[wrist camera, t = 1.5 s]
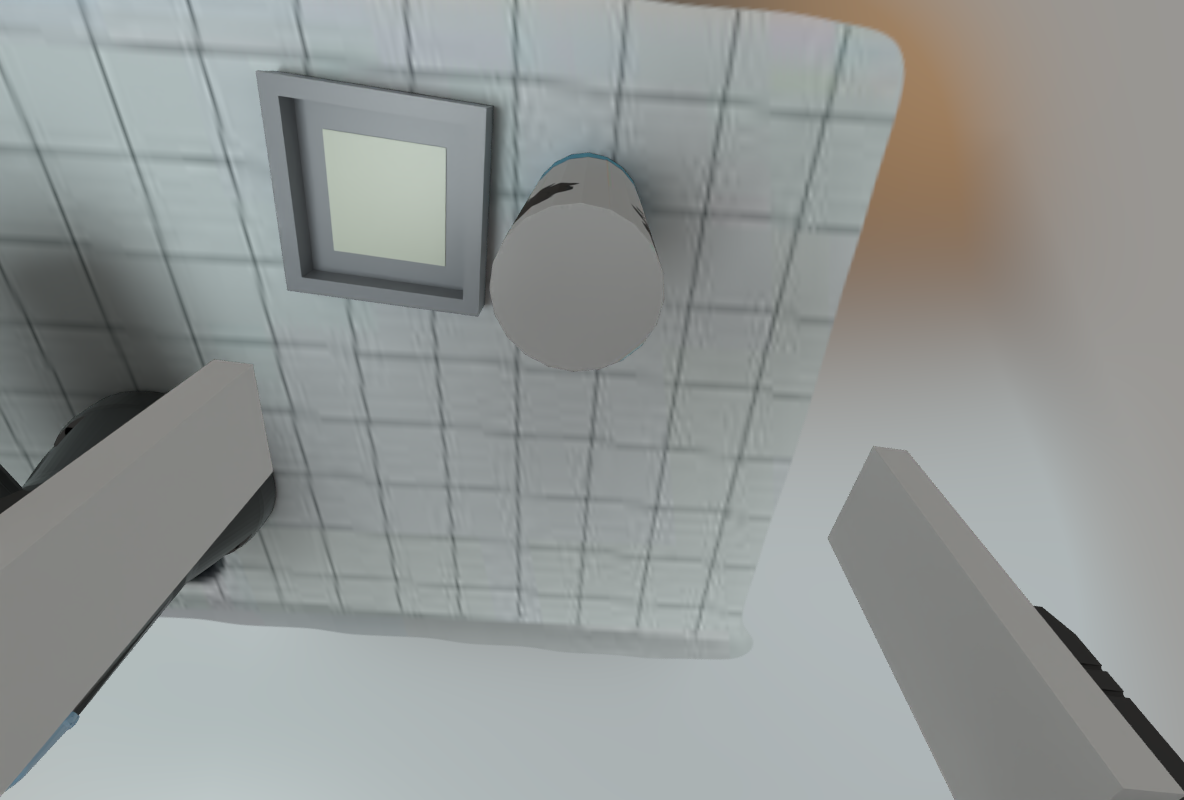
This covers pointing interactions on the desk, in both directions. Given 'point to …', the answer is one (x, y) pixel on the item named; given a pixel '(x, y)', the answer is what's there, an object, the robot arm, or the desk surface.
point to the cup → (579, 268)
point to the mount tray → (379, 191)
